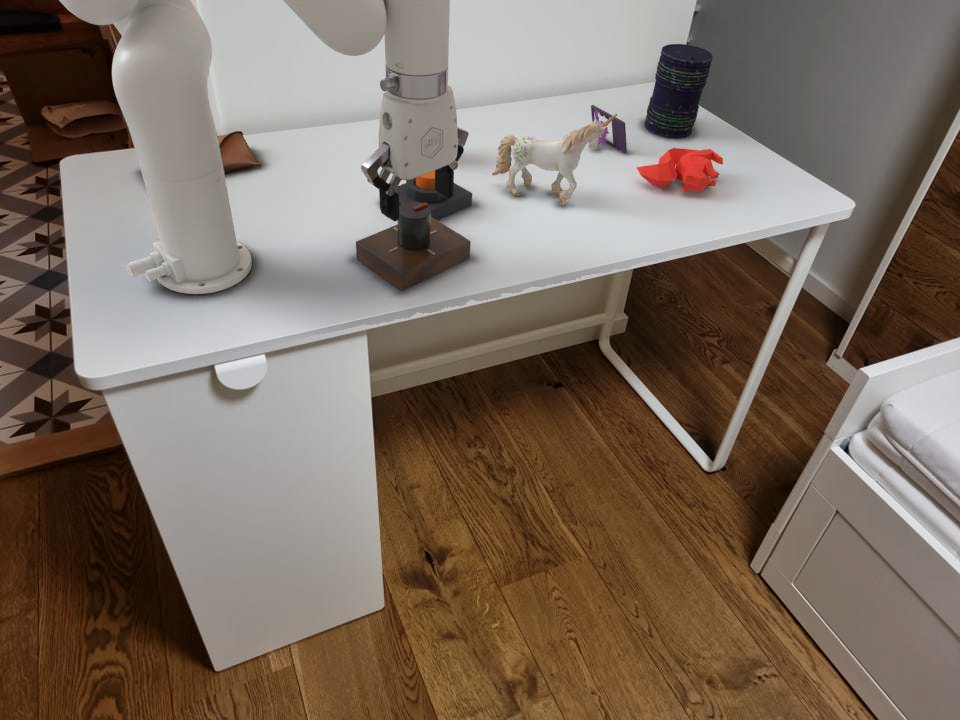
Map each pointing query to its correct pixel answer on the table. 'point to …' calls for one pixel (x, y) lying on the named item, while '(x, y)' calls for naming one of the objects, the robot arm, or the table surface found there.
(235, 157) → the sunglasses case
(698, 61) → the storage jar
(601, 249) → the table surface
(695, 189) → the animal figurine
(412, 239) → the dial
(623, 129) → the purple decorative frame
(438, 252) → the dial panel
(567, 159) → the unicorn figurine
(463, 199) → the switch base
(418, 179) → the switch
